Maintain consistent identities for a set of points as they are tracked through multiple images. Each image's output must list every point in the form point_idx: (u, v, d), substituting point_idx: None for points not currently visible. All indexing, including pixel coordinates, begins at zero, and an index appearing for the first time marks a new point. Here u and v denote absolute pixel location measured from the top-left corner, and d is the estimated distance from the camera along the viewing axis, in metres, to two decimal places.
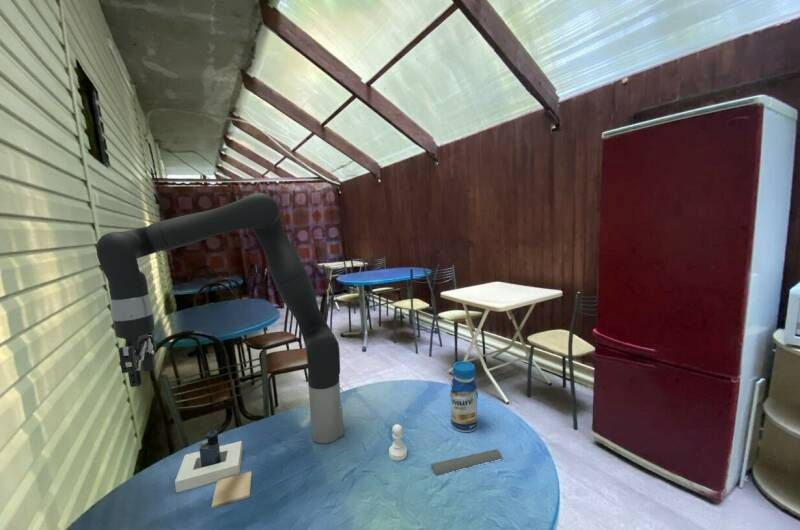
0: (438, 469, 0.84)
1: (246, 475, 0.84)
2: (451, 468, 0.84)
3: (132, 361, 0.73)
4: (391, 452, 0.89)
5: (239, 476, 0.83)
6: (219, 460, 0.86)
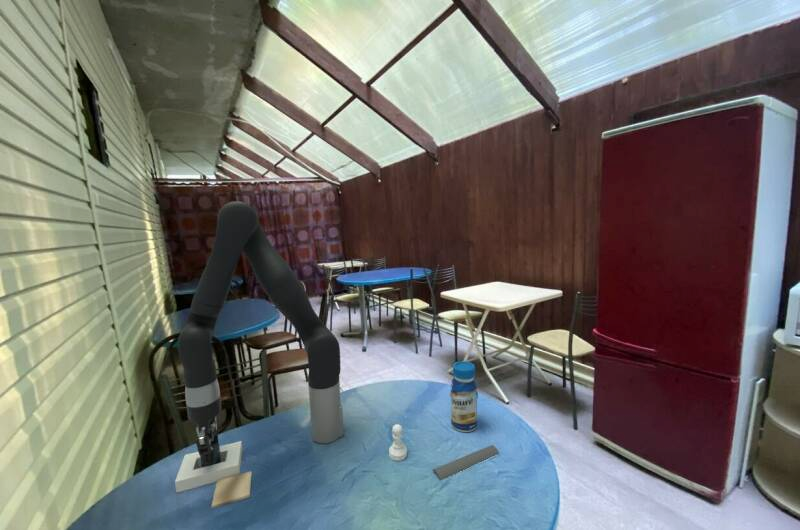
0: (441, 473, 0.82)
1: (246, 475, 0.84)
2: (454, 471, 0.83)
3: (208, 447, 0.80)
4: (391, 452, 0.89)
5: (239, 476, 0.83)
6: (219, 460, 0.86)
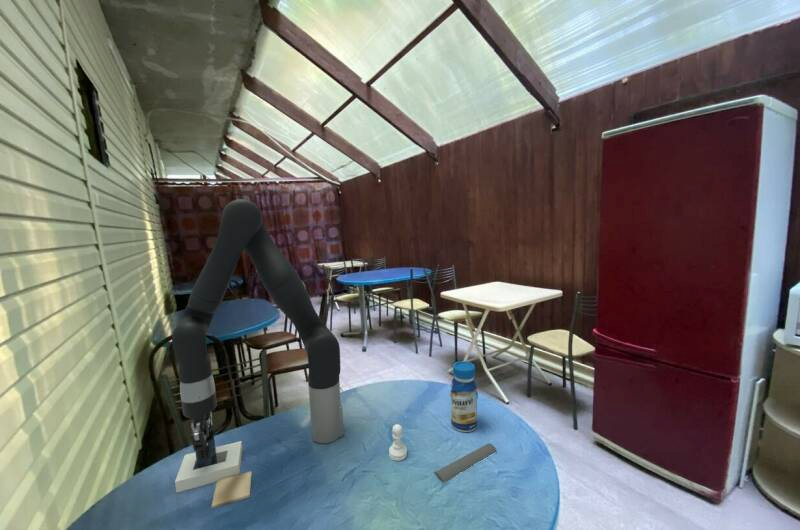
0: (444, 476, 0.81)
1: (246, 475, 0.84)
2: (456, 472, 0.83)
3: (203, 443, 0.80)
4: (391, 452, 0.89)
5: (239, 476, 0.83)
6: (214, 456, 0.86)
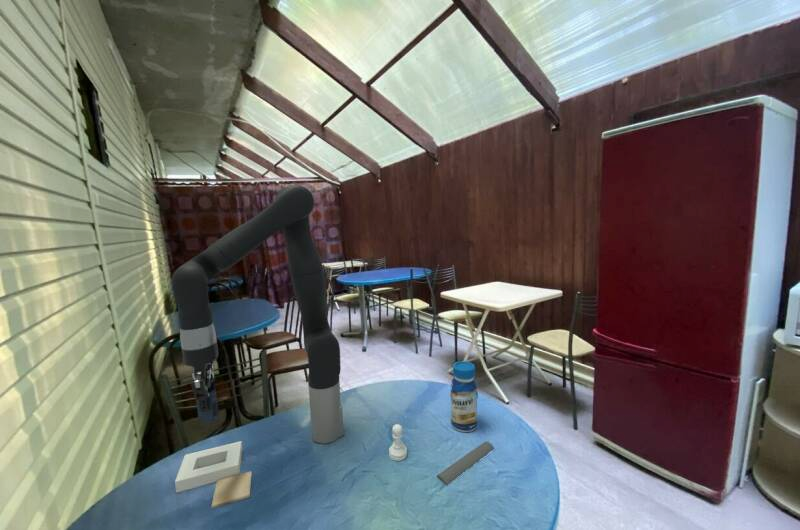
0: (447, 478, 0.81)
1: (246, 475, 0.84)
2: (458, 473, 0.82)
3: (204, 392, 0.77)
4: (391, 452, 0.89)
5: (239, 476, 0.83)
6: (216, 409, 0.84)
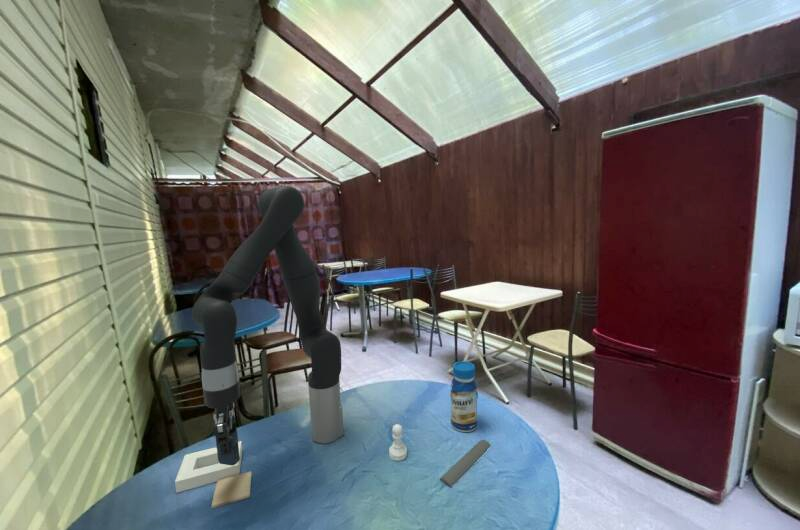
0: (450, 480, 0.80)
1: (246, 475, 0.84)
2: (460, 474, 0.82)
3: (226, 436, 0.73)
4: (391, 452, 0.89)
5: (239, 476, 0.83)
6: (237, 451, 0.79)
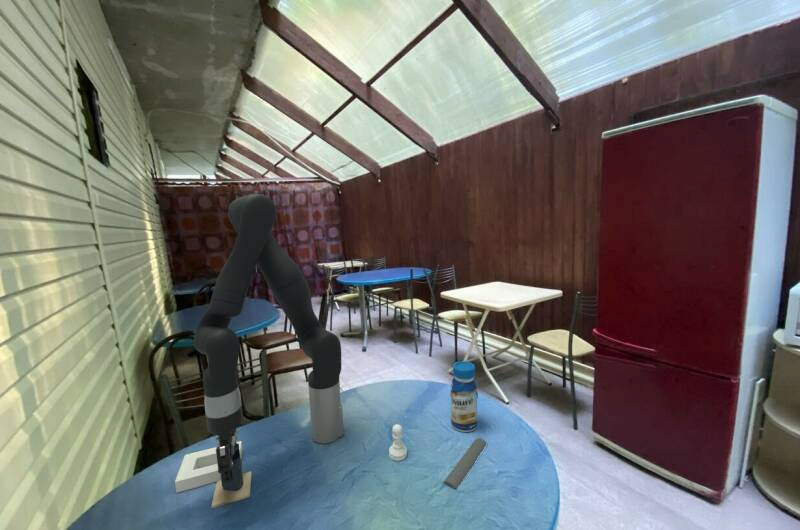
0: (455, 482, 0.79)
1: (246, 475, 0.84)
2: (463, 475, 0.82)
3: (228, 461, 0.72)
4: (391, 452, 0.89)
5: None
6: (241, 476, 0.80)
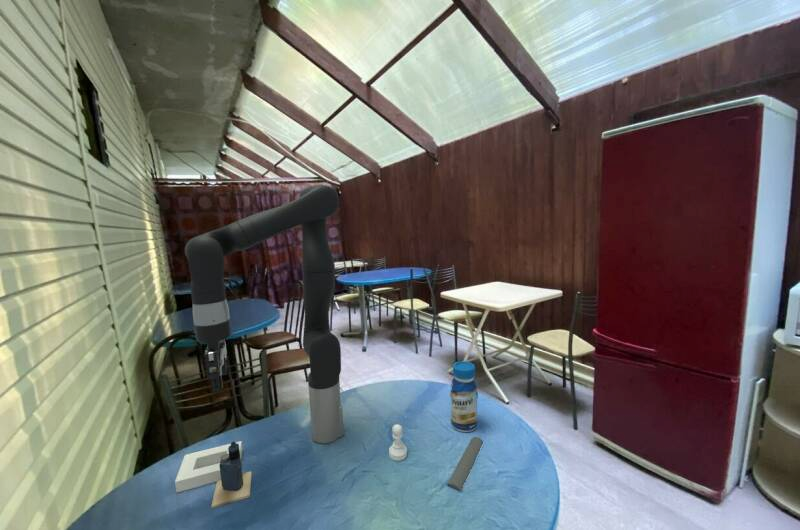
0: (459, 484, 0.79)
1: (246, 475, 0.84)
2: (466, 476, 0.82)
3: (217, 366, 0.73)
4: (391, 452, 0.89)
5: None
6: (241, 476, 0.80)
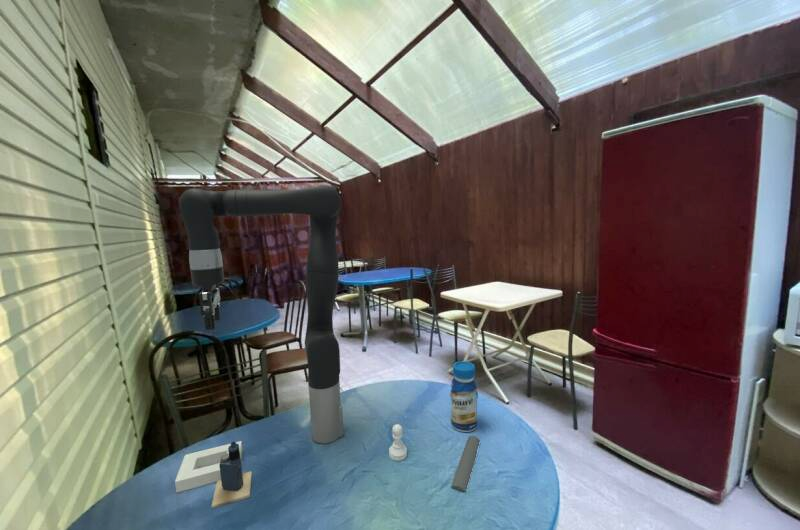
0: (463, 485, 0.78)
1: (246, 475, 0.84)
2: (468, 476, 0.81)
3: (210, 305, 0.81)
4: (391, 452, 0.89)
5: None
6: (241, 476, 0.80)
